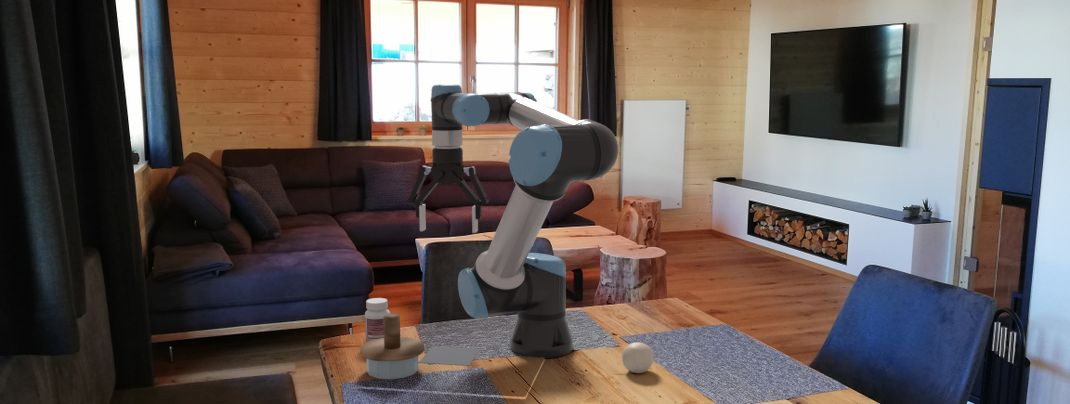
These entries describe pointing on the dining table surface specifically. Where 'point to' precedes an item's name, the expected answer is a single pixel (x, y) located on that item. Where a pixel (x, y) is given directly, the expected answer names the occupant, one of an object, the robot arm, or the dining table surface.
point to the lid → (392, 343)
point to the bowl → (392, 368)
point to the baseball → (637, 357)
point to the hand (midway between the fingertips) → (448, 231)
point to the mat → (450, 355)
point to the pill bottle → (375, 318)
